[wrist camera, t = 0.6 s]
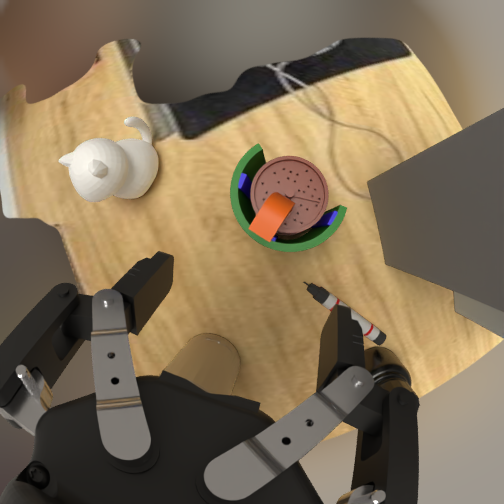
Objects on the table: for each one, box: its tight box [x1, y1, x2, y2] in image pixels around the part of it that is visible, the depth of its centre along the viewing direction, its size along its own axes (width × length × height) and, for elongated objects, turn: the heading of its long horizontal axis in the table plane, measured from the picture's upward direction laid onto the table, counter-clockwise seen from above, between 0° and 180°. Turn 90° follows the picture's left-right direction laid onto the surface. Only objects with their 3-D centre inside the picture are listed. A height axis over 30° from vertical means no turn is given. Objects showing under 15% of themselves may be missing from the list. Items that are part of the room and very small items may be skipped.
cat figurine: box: [59, 117, 159, 202], centre depth 34 cm, size 9×12×15 cm
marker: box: [304, 282, 386, 345], centre depth 39 cm, size 15×2×2 cm, turn 54°
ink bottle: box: [364, 347, 420, 411], centre depth 34 cm, size 10×9×12 cm
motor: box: [230, 143, 347, 252], centre depth 30 cm, size 10×9×20 cm
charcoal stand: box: [367, 108, 504, 312], centre depth 22 cm, size 12×9×32 cm
